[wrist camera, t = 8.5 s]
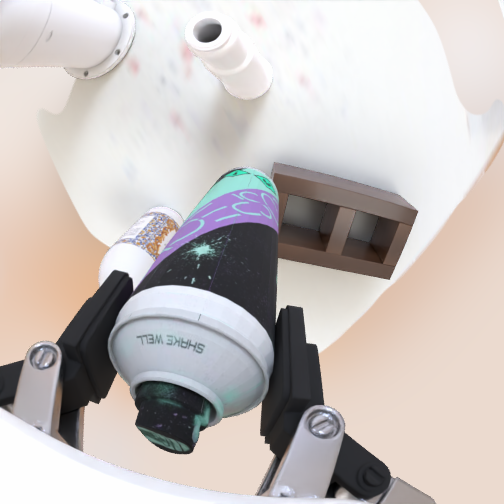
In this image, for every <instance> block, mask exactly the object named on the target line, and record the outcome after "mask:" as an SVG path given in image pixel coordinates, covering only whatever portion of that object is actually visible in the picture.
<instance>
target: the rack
mask: <svg viewBox="0 0 504 504" xmlns="http://www.w3.org/2000/svg"><path fill="white" fill-rule="evenodd" d="M271 179H272V181H273V182H274V184H275V186H276V189H277V191H278V197H279V218H278V258H281V259H286V260H292V261H297V262H302V263H307V264H312V265H317V266H322V267H327V268H332V269H337V270H342V271H347V272H353V273H358V274H363V275H368V276H373V277H378V278H383V279H388V280H390V278H391V275H392V273H393V271H394V269H395V266H396V264H397V262H398V260H399V258H400V255H401V253H402V251H403V248H404V246H405V244H406V241H407V239H408V236H409V234H410V231H411V229H412V226H413V224H414V221H415V218H416V216H417V213H418V211H417V210H416V209H415V208H414V207H413V206H412V205H410V204H409V203H408V202H407V201H406V200H405V199H403V198H402V197H401V196H400V195H397V194H394V193H391V192H387V191H384V190H381V189H378V188H374V187H371V186H368V185H364V184H361V183H357V182H354V181H350V180H346V179H343V178H339V177H335V176H331V175H327V174H323V173H319V172H315V171H311V170H307V169H303V168H298V167H294V166H290V165H285V164H280V163H276V162H274V165H273V170H272V175H271ZM289 194H291V195H295V196H300V197H304V198H308V199H313V200H317V201H321V202H325V203H327V205H326V208H325V211H324V215H323V218H322V222H321V225H320V228H319V231H316V230H312V229H307V228H302V227H298V226H293V225H288V224H284V223H282V220H283V216H284V212H285V208H286V204H287V200H288V196H289ZM356 210H357V211H361V212H365V213H369V214H373V215H376V216H380V217H379V219H378V222H377V225H376V228H375V230H374V233H373V236H372V238H371V241H370V243H369V242H365V241H361V240H356V239H352V238H348V234H349V231H350V228H351V225H352V222H353V219H354V216H355V213H356Z"/></svg>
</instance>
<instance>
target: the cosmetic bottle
mask: <svg viewBox="0 0 504 504" xmlns="http://www.w3.org/2000/svg"><path fill="white" fill-rule="evenodd" d="M185 38H186V41H187V45H188V48H189V49H190V51H191V52H192V53H193V54H194V55H195V56H197V57H199V58H200V59H201V61H202V63H203V65H204V66H205V67H206V69H207V70H208V71H210V72H211V73H212V74H213V75H214V76H215V77H216V78H218V79H219V80H220V81H222V82H223V85H224V87H225V89H226V90H227V91H228V92H229V93H230V94H231V95H233V96H235V97H237V98H240V99H254V98H257V97H260V96H261V95H263V94H264V93H265V92H266V91H267V90H268V89H269V88H270V86H271V84H272V81H273V71H272V68H271V66H270V64H269V63H268V61H267V60H266V59H264V58H263V57H261V56H260V54H259V52H258V50H257V49H256V47H255V45H254V44H253V42H252V41H251V39H250V38H249V37H248V36H247V35H246V34H244V33H243V32H241V31H240V29H239V27H238V25H237V24H236V23H235V21H234V20H232V19H231V18H229V17H228V16H225V15H222V14H220V13H218V12H203V13H200V14H198V15H196V16H195V17H193V18H192V19H191V20H190V21H189V23H188V24H187V26H186V29H185Z"/></svg>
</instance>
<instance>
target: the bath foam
mask: <svg viewBox="0 0 504 504" xmlns="http://www.w3.org/2000/svg"><path fill="white" fill-rule="evenodd" d="M183 223H184V220H183V219H182V217H181V216H180V215H179V214H178V213H177V212H176V211H174V210H173V209H170V208H168V207H155V208H152V209H150V210H149V211H147V212H146V213H145V214H144V215H143V216H142V217H141V218H140V219H139V220H138V221H137V222H136V223H135V224H134V225H133V226H132V227H131V228H130V229H129V230H128V231H127V232H126V233H125V234H124V235H123V236H122V237H121V238H120V239H119V240H118V241H117V242H116V243H115V244H114V245H113V246H112V247H111V248H110V249H109V250H108V251H107V253H106V254H105V256H104V258H103V260H102V262H101V265H100V269H99V288H100V286H101V285H102V284H103V283H104V281H105V280H106V279H107V277H108V276H109V275H110V274H111V272H112V271H113V270H118V271H123V272H127V273H128V274H129V277H131V278H132V279H133V290H135V288H136V287H137V286H138V284H139V283H140V281H141V280H142V278H143V277H144V276H145V274H146V273H147V271H148V270H149V269H150V267H151V266H152V264H153V263H154V262H155V260H156V259H157V258H158V256H159V255H160V253H161V252H162V251H163V249H164V248H165V247H166V245H167V244H168V243H169V241H170V240H171V239H172V237H173V236H174V235H175V233H176V232H177V231H178V229H179V228H180V227H181V225H182V224H183Z"/></svg>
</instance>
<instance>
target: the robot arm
mask: <svg viewBox="0 0 504 504" xmlns="http://www.w3.org/2000/svg"><path fill="white" fill-rule="evenodd" d="M134 34H135V17H134V14H133V12H132V10H131V8H130V7H129V6H128V5H127V4H125V3H123V2H122V1H120V0H0V68H15V67H64V69H65V70H66V72H67V73H68V74H70V75H71V76H72V77H75V78H78V79H92V78H96V77H99V76H101V75H104V74H105V73H107V72H108V71H110V70H111V69H112V68H114V67H115V66H116V65H117V64H118V63H119V62H120V61H121V59H122V58H123V57H124V56H125V54H126V53H127V51H128V49H129V47H130V45H131V43H132V40H133V37H134ZM119 53H120V54H119ZM133 291H134V290H133V279H132V278H131V277H129V274H128V273H127V272H123V271H118V270H113V271H112V272H111V274H110V275H109V276H108V277H107V279H106V280H105V281H104V283H103V284H102V285H101V286H100V288H99V289H98V290H97V292H96V293H95V294H94V295H93V297H91V298H89V299H88V300H87V301H86V302H85V303H84V305H83V306H82V307H81V309H80V310H79V311H78V313H77V314H76V316H75V317H74V318H73V320H72V321H71V322H70V324H69V325H68V327H67V328H66V329H65V331H64V332H63V334H62V335H61V337H60V338H59V340H58V341H57V342H56V344H55V343H53V342H50V341H40V342H37V343H35V344H34V345H32V346H31V347H30V348H29V349H28V351H27V354H26V356H25V360H22V361H18V362H14V363H11V364H8V365H4V366H0V504H436V503H435V501H434V499H432V498H431V497H430V496H428V495H426V494H425V493H423V492H421V491H420V490H418V489H416V488H415V487H413V486H411V485H410V484H408V483H406V482H405V481H403V480H401V479H400V478H398V477H396V478H393V477H391V475H390V471H389V469H388V467H387V466H386V465H385V464H384V463H383V462H382V461H380V460H379V459H378V458H376V457H375V456H374V455H372V454H371V453H370V452H368V451H367V450H366V449H365V448H363V447H362V446H361V445H360V444H358V443H357V442H356V441H355V440H353V439H352V438H351V437H350V436H348V435H347V434H346V433H345V422H344V419H343V417H342V416H341V414H340V413H339V412H338V411H337V410H335V409H333V408H331V407H329V406H325V405H324V399H323V389H322V381H321V372H320V364H319V356H318V349H317V346H316V344H308V343H306V335H305V325H304V316H303V308H301V307H295V306H289V305H287V307H286V309H284V308H281V310H280V313H279V316H278V319H277V322H276V325H275V347H274V364H273V372H272V375H271V377H270V379H269V388H268V392H267V394H266V396H265V398H264V400H263V401H262V412H261V429H260V435H261V436H265V443H267V444H270V450H271V451H272V452H273V453H274V454H275V455H274V457H273V459H272V461H271V464H270V466H269V468H268V470H267V472H266V474H265V476H264V478H263V480H262V482H261V484H260V486H259V488H258V490H257V492H256V494H255V496H252V495H242V494H233V493H226V492H219V491H213V490H207V489H201V488H196V487H191V486H186V485H182V484H177V483H173V482H169V481H165V480H161V479H158V478H154V477H150V476H147V475H144V474H140V473H137V472H134V471H131V470H128V469H125V468H122V467H119V466H117V465H114V464H111V463H109V462H106V461H103V460H101V459H98V458H96V457H93V456H91V455H89V454H86V453H84V452H83V429H84V410H85V406H87V405H88V403H89V401H92V402H94V403H97V404H99V402H100V400H101V398H105V397H106V396H107V394H108V391H109V389H110V387H111V385H112V383H113V381H114V378H115V376H116V374H117V371H116V369H115V368H114V366H113V364H112V362H111V360H110V357H109V352H108V338H109V336H110V334H111V331H112V329H113V328H114V326H115V322H116V319H117V317H118V315H119V312H120V311H121V309H122V308H123V306H124V305H125V303H126V302H127V300H128V299H129V297H130V296H131V294H132V293H133Z"/></svg>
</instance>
